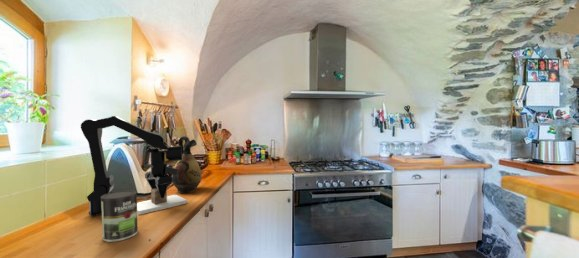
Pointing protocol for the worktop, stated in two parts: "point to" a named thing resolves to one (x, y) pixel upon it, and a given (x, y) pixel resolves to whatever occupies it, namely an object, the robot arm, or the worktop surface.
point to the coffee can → (119, 215)
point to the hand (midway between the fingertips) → (159, 195)
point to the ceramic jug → (187, 168)
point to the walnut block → (157, 197)
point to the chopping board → (150, 207)
